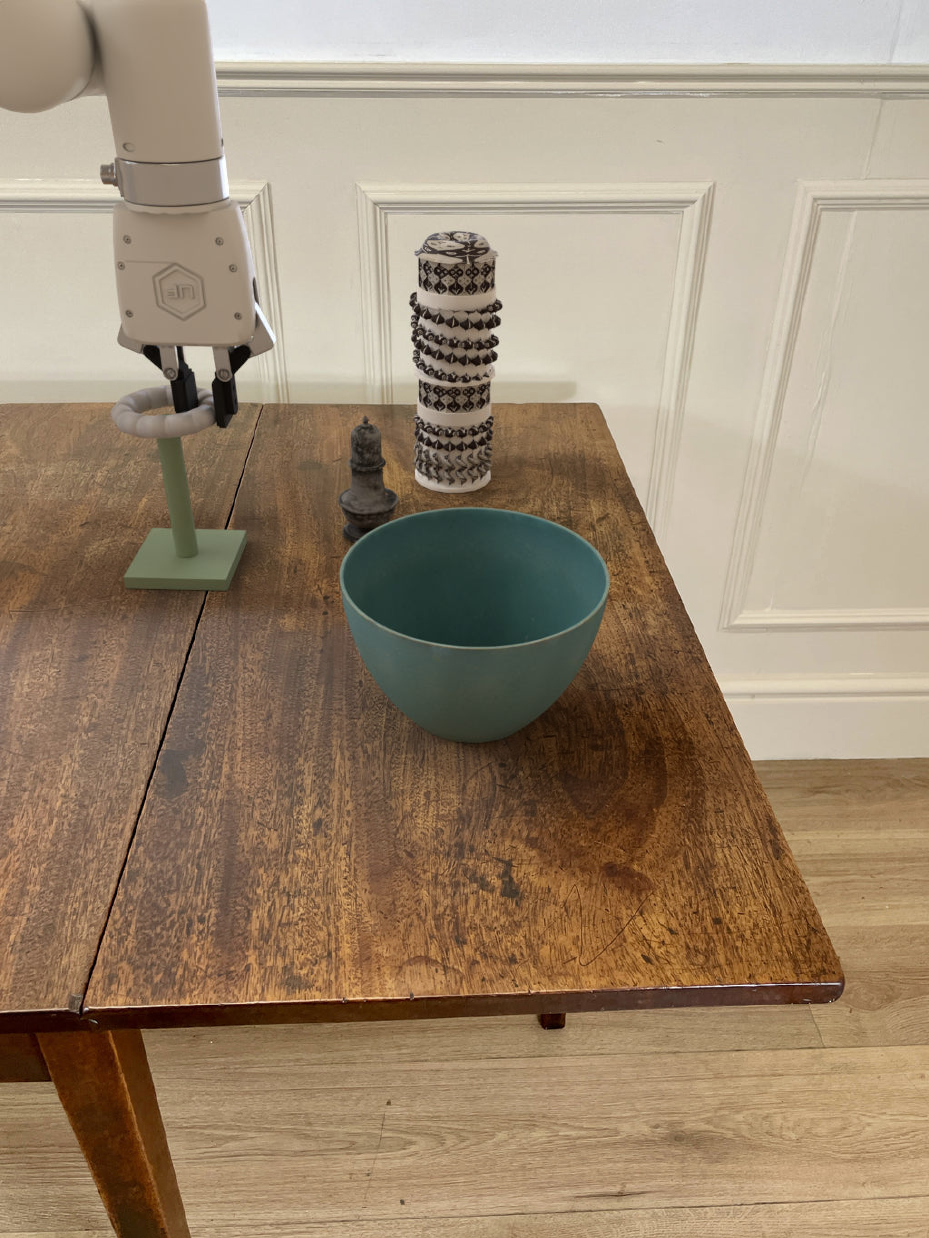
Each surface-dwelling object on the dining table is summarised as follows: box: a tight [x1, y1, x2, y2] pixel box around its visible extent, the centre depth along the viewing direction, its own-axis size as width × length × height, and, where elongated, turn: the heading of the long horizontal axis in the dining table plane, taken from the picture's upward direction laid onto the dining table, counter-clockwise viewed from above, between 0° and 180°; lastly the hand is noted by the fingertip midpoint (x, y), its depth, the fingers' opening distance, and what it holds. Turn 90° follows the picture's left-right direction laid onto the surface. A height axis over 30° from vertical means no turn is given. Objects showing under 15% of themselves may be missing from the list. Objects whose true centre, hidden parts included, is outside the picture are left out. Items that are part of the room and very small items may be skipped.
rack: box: [122, 413, 248, 592], centre depth 83 cm, size 9×9×14 cm
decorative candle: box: [408, 230, 504, 494], centre depth 97 cm, size 9×9×25 cm
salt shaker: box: [337, 415, 399, 544], centre depth 89 cm, size 6×6×12 cm
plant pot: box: [339, 506, 611, 744], centre depth 67 cm, size 18×18×12 cm
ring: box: [110, 384, 217, 439], centre depth 79 cm, size 9×9×2 cm
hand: (208, 419), depth 79 cm, fingers closed on ring, 2 cm apart
